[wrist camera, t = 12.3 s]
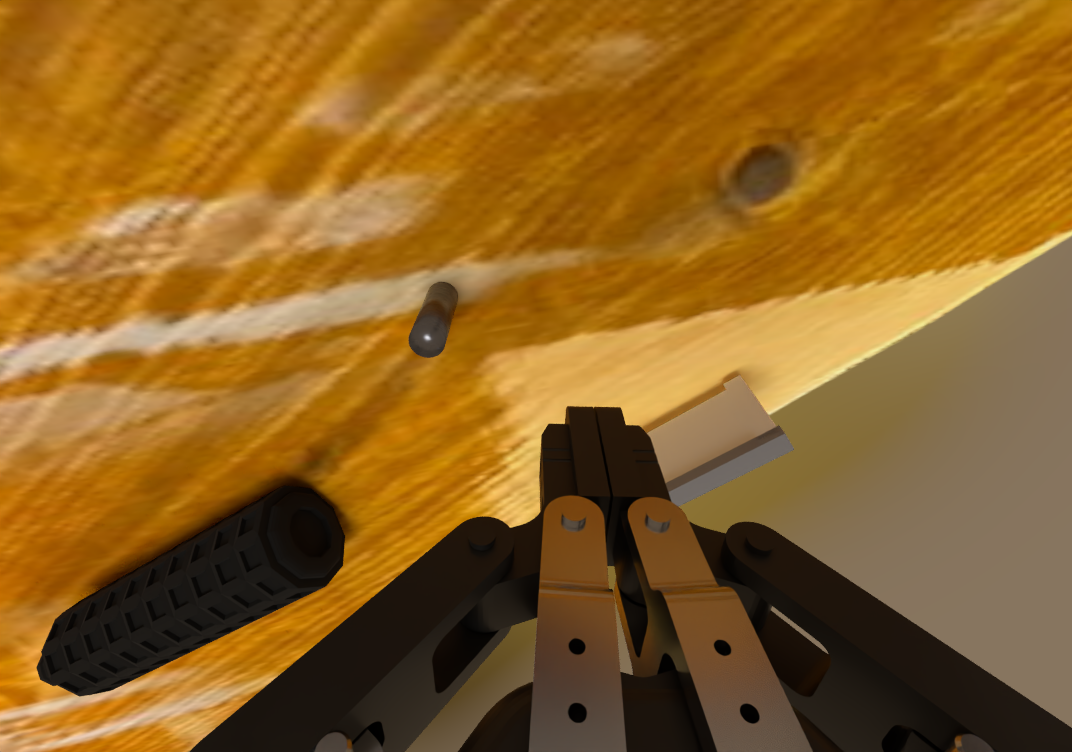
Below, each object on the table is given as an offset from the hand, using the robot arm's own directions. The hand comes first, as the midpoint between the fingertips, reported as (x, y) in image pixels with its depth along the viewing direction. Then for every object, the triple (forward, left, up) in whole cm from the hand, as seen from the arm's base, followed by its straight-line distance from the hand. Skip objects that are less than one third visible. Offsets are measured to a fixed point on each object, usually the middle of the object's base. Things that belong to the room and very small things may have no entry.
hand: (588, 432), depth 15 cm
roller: (+51, +16, -28) cm, 60 cm away
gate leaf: (0, +22, -26) cm, 34 cm away
